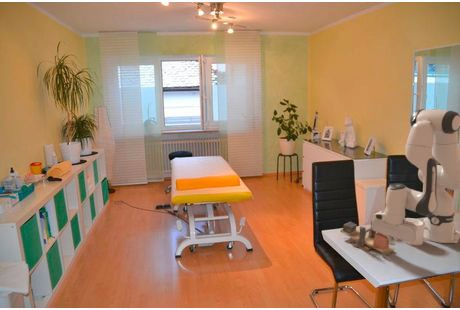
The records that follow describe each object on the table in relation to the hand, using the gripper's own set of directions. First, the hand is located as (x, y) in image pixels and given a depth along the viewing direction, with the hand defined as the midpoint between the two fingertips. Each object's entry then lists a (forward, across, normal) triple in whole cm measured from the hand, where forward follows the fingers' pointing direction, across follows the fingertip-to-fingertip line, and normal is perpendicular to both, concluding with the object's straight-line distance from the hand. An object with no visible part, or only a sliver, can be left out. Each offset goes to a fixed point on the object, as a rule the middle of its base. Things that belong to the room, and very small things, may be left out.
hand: (391, 244), depth 169 cm
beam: (+3, +14, -1) cm, 14 cm away
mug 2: (+5, -2, -22) cm, 23 cm away
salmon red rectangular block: (+3, +6, 0) cm, 6 cm away
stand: (+5, +9, -1) cm, 10 cm away
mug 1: (+5, +16, -21) cm, 27 cm away
